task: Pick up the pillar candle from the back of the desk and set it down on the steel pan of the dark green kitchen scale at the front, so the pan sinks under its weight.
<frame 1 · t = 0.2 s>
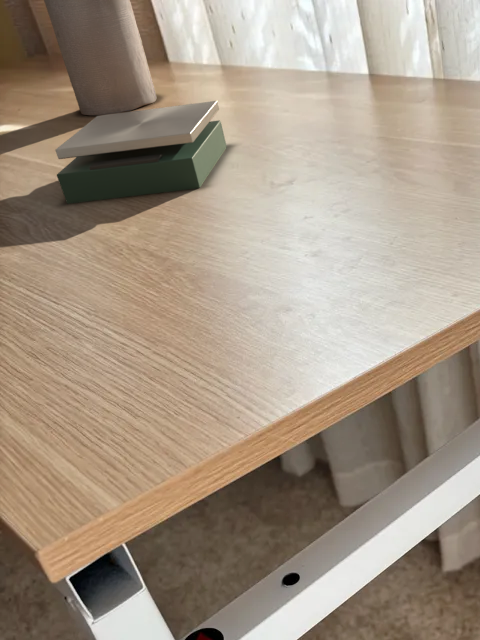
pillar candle: (120, 108, 103), on the table
scale: (151, 174, 76), on the table
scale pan: (141, 128, 74), point 4 cm above the table, slide at 0.0 cm
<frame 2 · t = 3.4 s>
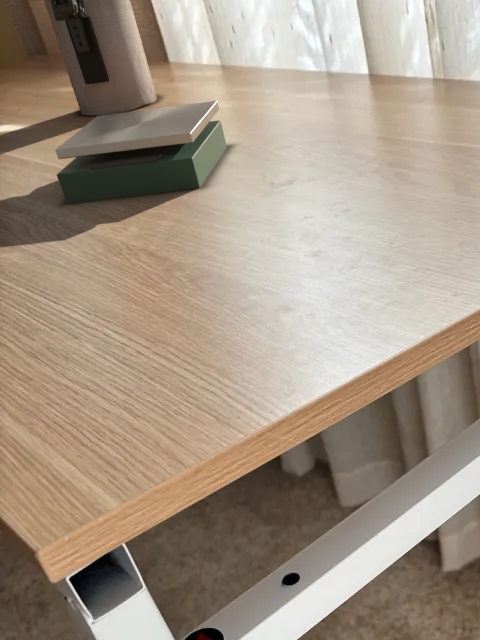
hand: (110, 73, 101), 4 cm above the table, tool pointing down, fingers closed on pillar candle, 10 cm apart
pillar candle: (120, 108, 103), on the table, touching gripper
everything else where it was.
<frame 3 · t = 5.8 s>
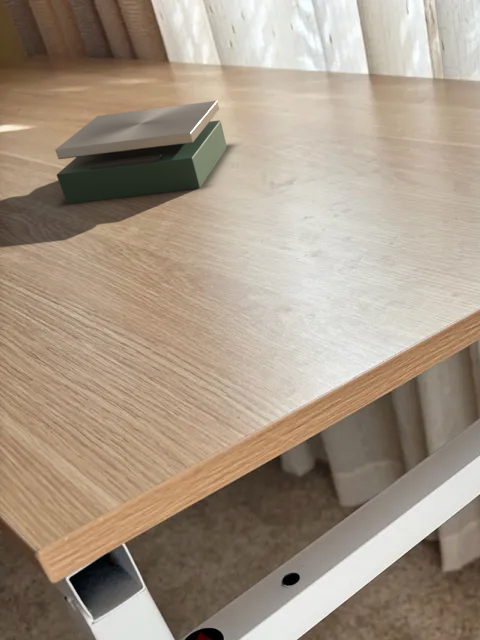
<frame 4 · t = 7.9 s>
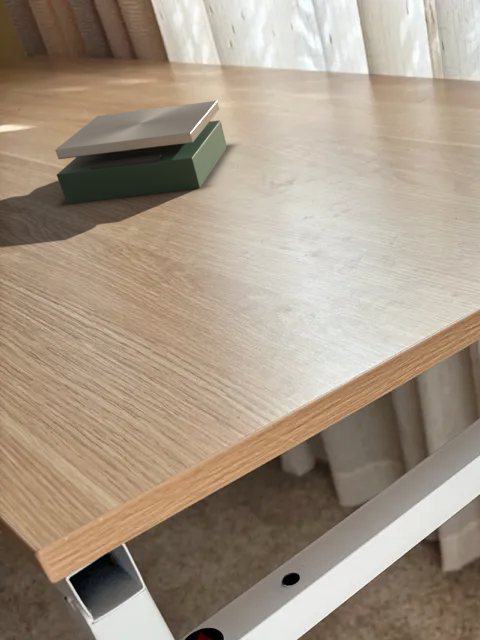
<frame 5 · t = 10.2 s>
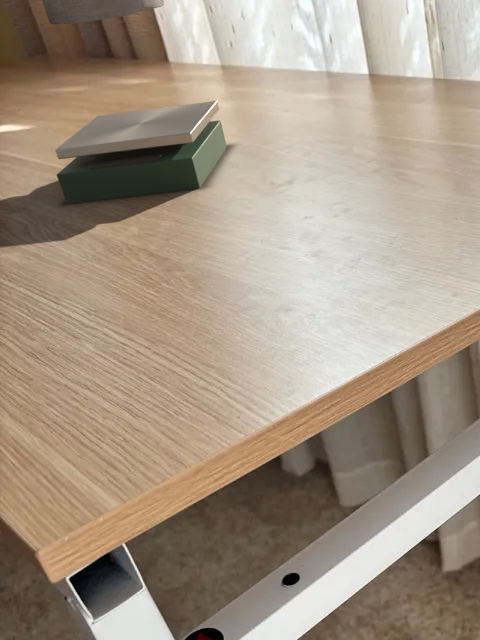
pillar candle: (109, 17, 69), point 12 cm above the table, touching gripper
everything else where it was.
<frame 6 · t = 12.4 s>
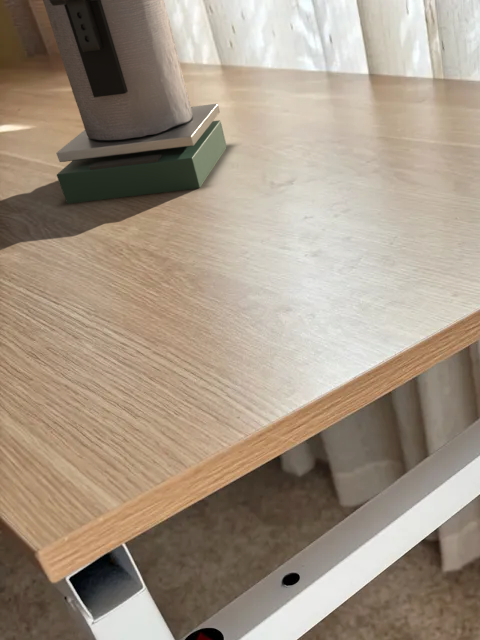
hand: (127, 81, 72), 8 cm above the table, tool pointing down, fingers closed on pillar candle, 10 cm apart
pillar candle: (142, 129, 74), point 4 cm above the table, touching gripper, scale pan
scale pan: (142, 131, 74), point 3 cm above the table, slide at -0.2 cm, touching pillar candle
when the fingers open (8 cm above the table, at t = 12.7 s): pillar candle stays where it is, resting on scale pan.
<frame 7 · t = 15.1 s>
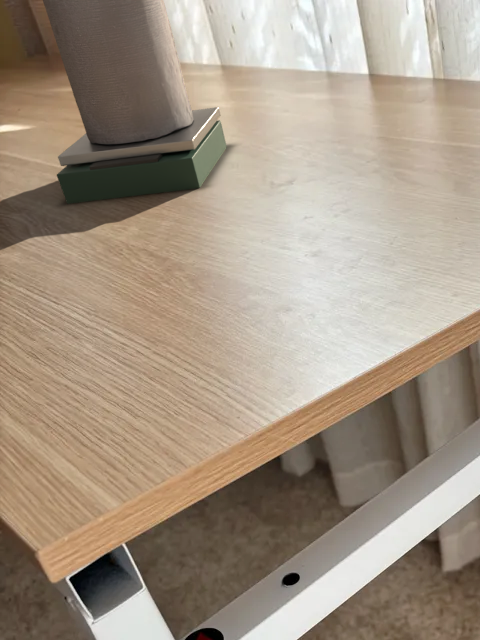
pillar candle: (143, 132, 74), point 3 cm above the table, touching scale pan
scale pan: (143, 135, 75), point 3 cm above the table, slide at -0.6 cm, touching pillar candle, scale
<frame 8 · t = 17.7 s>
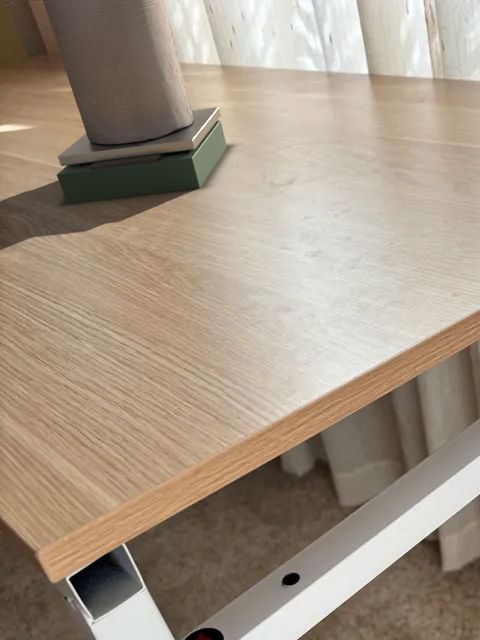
nothing on the table moved.
at the end: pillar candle 0.1 cm from the target spot on the scale, point 3.3 cm above the scale's base; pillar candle tilted 0°; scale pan slide at -0.6 cm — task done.
